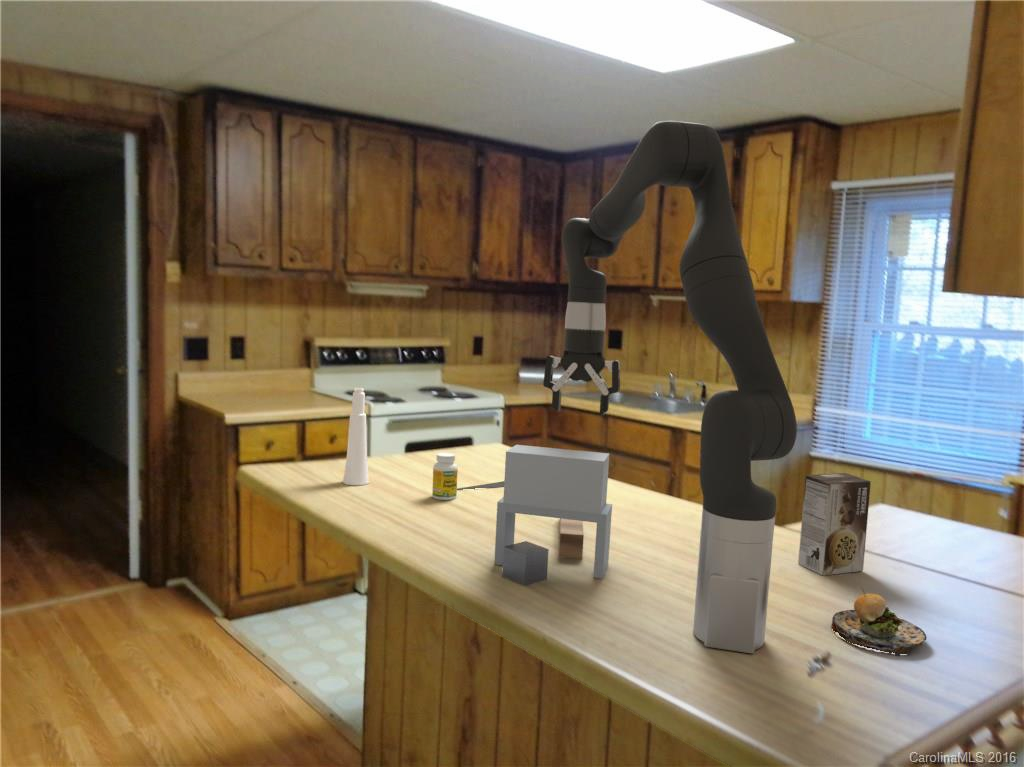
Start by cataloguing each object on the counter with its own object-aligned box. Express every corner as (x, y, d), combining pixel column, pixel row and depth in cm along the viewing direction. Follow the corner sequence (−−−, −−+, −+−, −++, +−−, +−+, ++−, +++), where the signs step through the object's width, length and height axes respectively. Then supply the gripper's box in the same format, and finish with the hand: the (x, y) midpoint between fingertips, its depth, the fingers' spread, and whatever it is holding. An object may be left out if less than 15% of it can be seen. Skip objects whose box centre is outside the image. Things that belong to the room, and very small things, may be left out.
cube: (524, 586, 119) (526, 555, 118) (502, 577, 122) (503, 546, 122) (546, 579, 122) (548, 549, 122) (524, 571, 126) (526, 541, 125)
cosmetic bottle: (346, 479, 182) (349, 386, 180) (371, 480, 182) (374, 387, 180) (339, 484, 176) (342, 389, 174) (365, 486, 176) (369, 390, 174)
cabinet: (602, 578, 124) (610, 461, 122) (494, 564, 128) (499, 451, 126) (608, 565, 130) (615, 454, 128) (505, 551, 135) (510, 444, 133)
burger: (924, 666, 98) (930, 609, 98) (825, 642, 104) (830, 589, 103) (926, 633, 109) (931, 582, 108) (836, 613, 115) (840, 565, 114)
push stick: (582, 560, 133) (583, 535, 133) (558, 558, 133) (560, 533, 133) (579, 522, 157) (580, 500, 157) (559, 520, 157) (560, 499, 157)
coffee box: (836, 560, 140) (844, 472, 138) (864, 572, 134) (873, 480, 132) (795, 563, 136) (804, 473, 135) (822, 576, 130) (831, 482, 129)
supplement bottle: (446, 493, 174) (448, 451, 173) (461, 498, 170) (463, 455, 169) (427, 496, 170) (428, 453, 169) (442, 501, 166) (444, 457, 165)
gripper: (543, 325, 143) (538, 412, 145) (620, 329, 140) (615, 418, 141) (551, 324, 150) (547, 407, 152) (625, 329, 147) (619, 413, 149)
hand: (579, 412), depth 147 cm, fingers open, 8 cm apart
